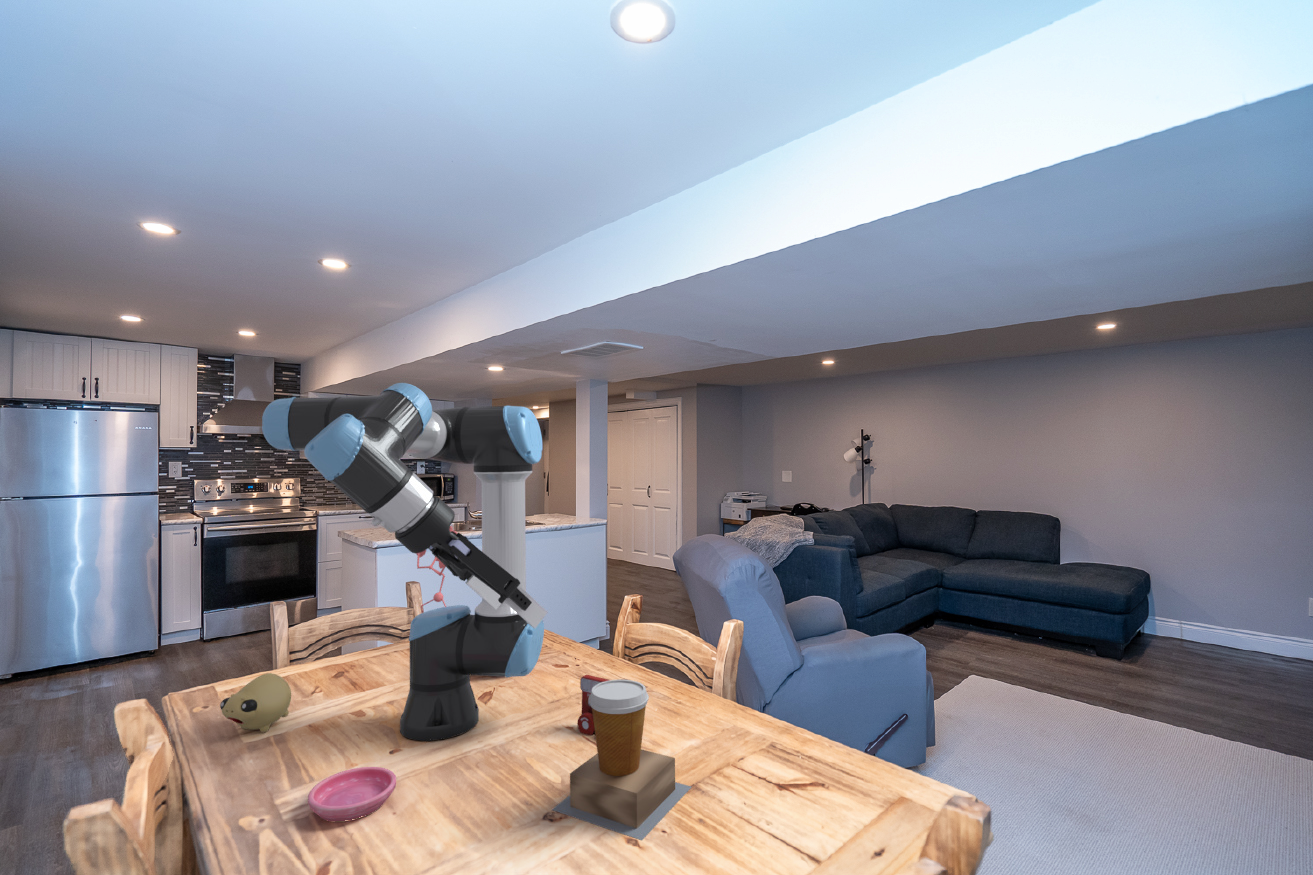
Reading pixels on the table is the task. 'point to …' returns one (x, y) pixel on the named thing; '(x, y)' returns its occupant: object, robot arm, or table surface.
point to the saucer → (352, 793)
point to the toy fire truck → (587, 704)
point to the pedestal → (623, 789)
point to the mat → (622, 828)
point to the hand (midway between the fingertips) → (519, 610)
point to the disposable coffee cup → (618, 724)
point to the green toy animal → (259, 703)
